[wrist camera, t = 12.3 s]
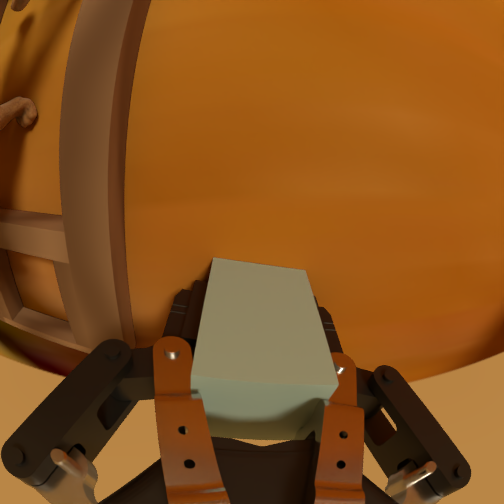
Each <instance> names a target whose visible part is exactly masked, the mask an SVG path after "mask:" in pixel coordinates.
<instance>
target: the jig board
mask: <svg viewBox="0 0 504 504" xmlns="http://www.w3.org/2000/svg"><path fill="white" fill-rule="evenodd" d="M7 1H8V0H0V22H1V19H2V16H3V13H4V10H5V7H6V4H7ZM150 2H151V0H83V1H82V5H81V8H80V11H79V14H78V18H77V22H76V25H75V29H74V33H73V37H72V42H71V46H70V51H69V56H68V62H67V67H66V74H65V80H64V88H63V96H62V106H61V119H60V142H59V169H60V192H61V205H62V216H61V215H53V214H45V213H37V212H28V211H20V210H12V209H3V208H0V320H2V321H4V322H6V323H8V324H10V325H13V326H15V327H17V328H20V329H22V330H24V331H27V332H29V333H32V334H34V335H37V336H39V337H42V338H45V339H47V340H50V341H53V342H56V343H58V344H61V345H64V346H67V347H70V348H73V349H76V350H80V351H83V352H86V353H89V354H90V353H91V352H92V351H93V350H94V349H95V348H96V347H97V346H98V345H99V344H100V343H101V342H103V341H105V340H108V339H119V340H122V341H124V342H126V343H127V344H128V345H129V347H130V348H131V349H135V347H136V340H135V334H134V328H133V321H132V313H131V306H130V297H129V288H128V278H127V265H126V251H125V229H124V173H125V152H126V137H127V126H128V116H129V107H130V99H131V91H132V84H133V78H134V72H135V66H136V61H137V55H138V50H139V45H140V41H141V36H142V32H143V28H144V24H145V20H146V16H147V12H148V9H149V5H150ZM6 249H7V250H11V251H15V252H19V253H23V254H28V255H32V256H36V257H41V258H45V259H50V260H53V264H54V268H55V273H56V277H57V281H58V285H59V289H60V293H61V297H62V301H63V304H64V308H65V311H66V314H67V317H68V321H69V322H67V321H64V320H61V319H58V318H54V317H51V316H48V315H45V314H42V313H39V312H36V311H34V310H31V309H28V308H25V307H23V304H22V302H21V299H20V296H19V293H18V290H17V287H16V284H15V281H14V277H13V274H12V271H11V267H10V263H9V260H8V256H7V252H6Z"/></svg>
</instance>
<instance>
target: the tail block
mask: <svg viewBox="0 0 504 504" xmlns="http://www.w3.org/2000/svg"><path fill="white" fill-rule="evenodd" d="M338 385H339V383H338V379H337V375H336V371H335V368H334V364H333V360H332V357H331V353H330V350H329V346H328V343H327V339H326V336H325V332H324V329H323V326H322V322H321V319H320V316H319V312H318V309H317V306H316V303H315V299H314V296H313V293H312V290H311V287H310V283H309V280H308V277H307V274H306V271H305V270H299V269H292V268H284V267H277V266H270V265H263V264H256V263H249V262H242V261H235V260H228V259H221V258H214V257H213V262H212V267H211V272H210V276H209V281H208V286H207V291H206V296H205V301H204V306H203V311H202V316H201V321H200V327H199V332H198V337H197V343H196V348H195V354H194V359H193V365H192V371H191V390H192V391H199V393H200V394H201V396H202V400H203V405H204V410H205V414H206V419H207V423H208V428H209V432H210V436H216V437H225V438H238V439H255V440H294V438H295V435H296V432H297V431H298V430H299V428H300V427H304V425H305V424H306V423H307V421H308V420H309V419H310V417H311V416H312V414H313V412H314V409H315V406H316V405H317V403H318V402H319V401H320V399H329V398H330V397H331V395H332V394H333V393H334V391H335V390H336V388H337V387H338Z"/></svg>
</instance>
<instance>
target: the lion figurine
mask: <svg viewBox="0 0 504 504" xmlns="http://www.w3.org/2000/svg"><path fill="white" fill-rule="evenodd" d="M28 2H29V0H13V1H12V4H11V9H12V10H13V11H21V10H23V9H24V8H25V7H26V5H27V4H28ZM36 116H37V110H36V107H35V105H34V103H33V102H32V100H30V99H28V98H22V97H21V96H19V97H15V98H14V99H12V100H10V101H8V102H6V103H4V104H2V105H0V131H1V130H2V129H3V128H4V127H5V126H6V125H7V124H8V123H9V122H10V121H11V120H12V119H14V118H16V119H17V122H18V123H19V124H20V125H21V126H22V127H24V128H25V127H27V126H28V125H30V124H32V123H33V121H34V119H35V118H36Z"/></svg>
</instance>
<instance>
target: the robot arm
mask: <svg viewBox="0 0 504 504" xmlns="http://www.w3.org/2000/svg"><path fill="white" fill-rule="evenodd" d="M207 286H208V282H206V281H199V280H196V281H195V284H194V288H193V291H190V290H184V289H182V290H181V291H180V292H179V293H178V294H177V295H176V296H175V299H174V302H173V305H172V308H171V312H170V314H169V317H168V320H167V323H166V327H165V330H164V333H163V336H162V338H161V339H159V340H158V341H157V342H156V343H155V344H154V345H153V346H151V347H148V348H139V349H131V348H130V347H129V345H128V344H127V343H126V342H124V341H122V340H119V339H108V340H105V341H103V342H101V343H100V344H99V345H98V346H97V347H96V348H95V349H94V350H93V351H92V352H91V353H90V354H89V355H88V356H87V357H86V358H85V359H84V360H83V361H82V362H81V363H80V364H79V365H78V366H77V367H76V368H75V369H74V370H73V371H72V372H71V373H70V374H69V375H68V376H67V377H66V378H65V379H64V380H63V381H62V382H61V383H60V384H59V385H58V386H57V387H56V388H55V389H54V390H53V391H52V392H51V393H50V394H49V395H48V397H46V399H45V400H44V401H43V402H42V403H41V404H40V405H39V406H38V407H37V408H36V409H35V410H34V411H33V413H32V414H31V415H30V416H29V417H28V418H27V419H26V420H25V421H24V422H23V423H22V424H21V425H20V427H19V428H18V429H17V430H16V431H15V432H14V433H13V434H12V435H11V437H10V438H9V439H8V440H7V441H6V442H5V444H4V445H3V447H2V451H1V458H2V462H3V464H4V466H5V468H6V469H7V471H8V472H9V473H11V474H12V475H13V476H15V477H17V478H18V479H20V480H21V481H23V482H24V483H25V484H27V485H29V486H31V487H32V488H34V489H36V490H37V491H38V492H39V493H40V494H41V495H42V496H43V497H44V498H45V499H46V500H48V501H49V502H50V503H51V504H436V503H437V502H438V501H439V500H440V499H441V498H443V497H445V496H447V495H449V494H451V493H453V492H455V491H457V490H459V489H461V488H463V487H464V486H465V485H467V484H468V482H469V480H470V477H471V469H470V466H469V464H468V462H467V461H466V460H465V458H464V457H463V455H462V454H461V453H460V451H459V450H458V449H457V447H456V446H455V444H454V443H453V442H452V440H451V439H450V438H449V436H448V435H447V434H446V432H445V431H444V430H443V428H442V427H441V426H440V424H439V423H438V422H437V421H436V419H435V418H434V417H433V415H432V414H431V413H430V411H429V410H428V409H427V407H426V406H425V405H424V404H423V402H422V401H421V400H420V398H419V397H418V396H417V395H416V393H415V392H414V391H413V390H412V389H411V387H410V386H409V385H408V383H407V382H406V381H405V380H404V378H403V377H402V376H401V375H400V373H399V372H398V371H397V370H396V369H394V368H393V367H390V366H387V365H382V366H379V367H377V368H376V369H375V371H374V372H371V371H367V370H364V369H360V368H357V367H356V365H355V363H354V361H353V360H352V359H351V358H350V357H349V356H347V355H345V354H343V351H342V348H341V345H340V341H339V338H338V335H337V332H336V331H335V327H334V324H333V321H332V318H331V315H330V314H329V313H328V311H327V310H326V309H325V308H324V307H318V303H317V300H316V297H315V296H314V295H313V296H314V299H315V303H316V306H317V309H318V312H319V316H320V319H321V322H322V326H323V329H324V332H325V336H326V339H327V343H328V346H329V350H330V353H331V357H332V360H333V364H334V368H335V371H336V375H337V379H338V383H339V385H338V387H337V388H336V390H335V391H334V393H333V394H332V395H331V397H330V398H329V399H320V401H319V402H318V403H317V405H316V406H315V409H314V412H313V414H312V416H311V417H310V419H309V420H308V421H307V423H306V424H305V425H304V427H300V428H299V430H298V431H297V432H296V435H295V438H294V440H290V441H286V442H282V443H278V444H273V445H268V446H257V445H253V444H249V443H245V442H242V441H239V440H235V439H232V438H223V437H213V436H210V432H209V428H208V423H207V419H206V414H205V410H204V405H203V400H202V396H201V394H200V393H199V391H192V390H191V371H192V365H193V359H194V354H195V348H196V343H197V337H198V332H199V327H200V321H201V316H202V311H203V306H204V301H205V296H206V291H207ZM148 399H155V412H156V422H157V430H158V440H159V448H160V455H161V458H160V459H159V460H157V461H156V462H155V463H153V464H152V465H151V466H150V467H148V468H147V469H146V470H144V471H143V472H142V473H140V474H139V475H138V476H136V477H135V478H134V479H132V480H131V481H130V482H128V483H127V484H125V485H124V486H123V487H121V488H120V489H118V490H117V491H116V492H114V493H113V494H111V495H110V496H108V497H107V498H105V499H104V500H102V501H101V502H99V503H98V502H97V501H96V499H95V496H94V487H95V484H96V482H97V479H98V474H97V470H96V468H95V466H94V465H93V464H92V462H93V460H94V459H95V458H96V456H97V455H98V454H99V452H100V451H101V450H102V448H103V447H104V446H105V445H106V443H107V442H108V441H109V439H110V438H111V437H112V435H113V434H114V432H115V431H116V430H117V429H118V427H119V426H120V425H121V423H122V422H123V421H124V419H125V418H126V417H127V415H128V414H129V413H130V411H131V410H132V409H133V408H134V406H135V405H136V404H137V402H138V401H139V400H148ZM382 408H384V409H385V410H386V412H387V413H388V415H389V416H390V417H391V419H392V420H393V422H394V423H395V424H396V427H397V431H395V429H394V428H393V427H392V425H391V424H390V422H389V421H388V419H387V418H386V417H385V415H384V414H383V413H382V411H381V409H382ZM364 442H365V444H366V445H367V447H368V448H369V450H370V452H371V453H372V454H373V456H374V458H375V459H376V461H377V462H378V464H379V465H380V467H381V468H382V470H383V472H384V473H385V475H386V476H387V478H388V485H387V486H386V488H385V492H386V493H385V492H384V491H382V490H381V489H380V488H379V487H377V486H376V485H375V484H374V483H373V482H371V481H370V480H369V479H368V478H367V477H366V476H364V475H363V474H362V472H363V453H364V452H363V451H364ZM389 495H390V496H391V497H390V496H389Z"/></svg>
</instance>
